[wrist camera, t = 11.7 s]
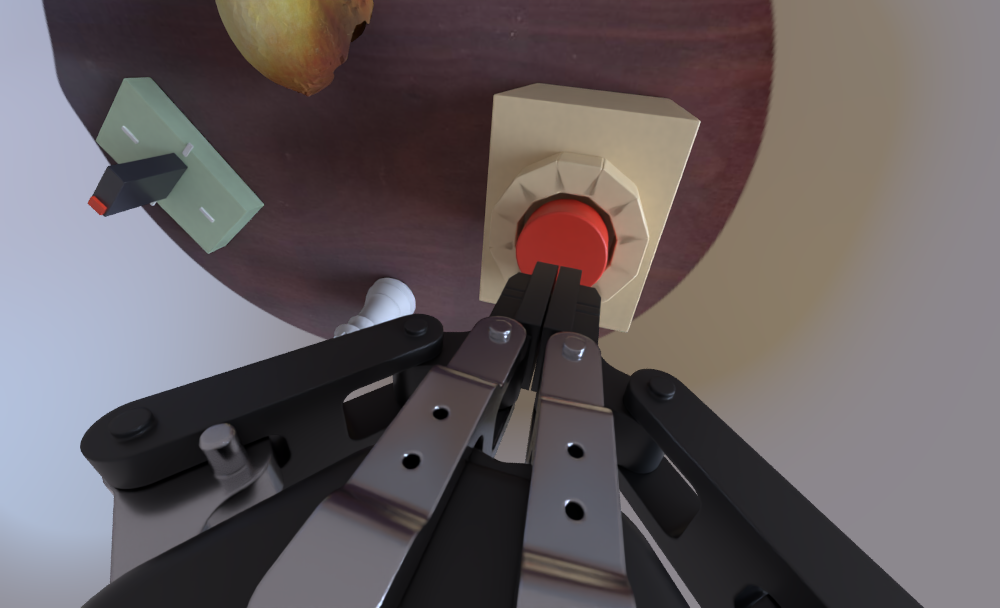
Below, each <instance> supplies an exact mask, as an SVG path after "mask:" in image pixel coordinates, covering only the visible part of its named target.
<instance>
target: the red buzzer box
mask: <svg viewBox="0 0 1000 608" xmlns="http://www.w3.org/2000/svg"><path fill="white" fill-rule="evenodd" d="M699 125H700V120H699V119H697V118H696V117H694V116H693V115H691V114H690V113H689V112H687V111H686V110H684V109H683V108H682V107H680V106H679V105H677V104H676V103H675V102H673V101H672V100H670V99H667V98H659V97H650V96H642V95H634V94H625V93H617V92H609V91H600V90H592V89H584V88H575V87H567V86H559V85H550V84H542V83H536V84H532V85H528V86H524V87H521V88H517V89H513V90H509V91H505V92H502V93H498V94H494V97H493V111H492V125H491V139H490V154H489V168H488V182H487V196H486V211H485V225H484V239H483V253H482V268H481V282H480V296H479V300H480V301H485V302H489V303H494V304H496V303H497V301H498V299H499V297H500V295H501V293H502V291H503V289H504V287H505V285H506V283H507V281H508V279H509V278H510V277H512V276H513V275H515V274H516V273H518V272H521V271H520V269H519V267H518V264H517V260H516V244H517V240H518V237H519V235H520V233H521V231H522V230H523V228H524V226H525V224H526V223H527V221H528V219H529V218H530V216H531V215H532V213H533V212H534V211H535V210H536V209H538V208H539V207H540V206H542V205H543V204H545V203H548V202H550V201H553V200H558V199H573V200H578V201H581V202H583V203H585V204H587V205H589V206H591V207H592V208H593V209H595V210H596V211H597V212H598V213H599V215H600V216H601V217H602V219H603V220H604V222H605V224H606V227H607V231H608V237H609V240H608V259H607V264H606V267H605V270H604V272H603V274H602V276H601V277H600V278H599V280H598V281H597V282H596V283H595V284H594V285H592V286H591V287H593V288H596V290H597V291H598V293H599V295H600V296H601V308H600V322H599V327H603V328H608V329H612V330H617V331H621V332H626V333H627V332H628V329H629V327H630V324H631V321H632V318H633V315H634V312H635V309H636V306H637V303H638V301H639V298H640V295H641V292H642V289H643V286H644V283H645V280H646V278H647V275H648V272H649V269H650V266H651V263H652V260H653V257H654V255H655V252H656V249H657V246H658V243H659V240H660V237H661V234H662V231H663V229H664V226H665V223H666V220H667V217H668V214H669V211H670V208H671V206H672V203H673V200H674V197H675V194H676V191H677V188H678V185H679V183H680V180H681V177H682V174H683V171H684V168H685V165H686V162H687V159H688V157H689V154H690V151H691V148H692V145H693V142H694V139H695V136H696V134H697V131H698V128H699Z"/></svg>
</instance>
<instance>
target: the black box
mask: <svg viewBox="0 0 1000 608" xmlns="http://www.w3.org/2000/svg"><path fill="white" fill-rule="evenodd" d="M187 168H188V167H187V166H186V165H185V164H184V162H183V161H182V160H181V159H180V158H179V157H178V156H177V155H176V154H175V153H170V154H165V155H160V156H155V157H150V158H146V159H141V160H136V161H131V162H126V163H121V164H116V165H111V166H108V167H107V169H106V171H105V173H104V174H103V176H102V178H101V180H100V182H99V184H98V186H97V188H96V190H95V192H94V194H93V195H92V197H91V198H90V200H89V202H88V204H89V205H90V206H91V207H92V208H93V209H94V210H95V211H96V212H97V213H98V214H99V215H103V216H105V217H106V216H109V215H113V214H116V213H119V212H122V211H126V210H129V209H132V208H136V207H139V206H142V205H146V204H149V203H152V202H156V201H159V200H162V199H166V198H167V196H168V195H169V193H170V192H171V191H172V189H173V188H174V186H175V185H176V184H177V182H178V181H179V179H180V178H181V176H182V175H183V174H184V172H185V171H186V169H187Z"/></svg>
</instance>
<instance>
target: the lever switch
mask: <svg viewBox="0 0 1000 608" xmlns="http://www.w3.org/2000/svg"><path fill="white" fill-rule="evenodd" d="M96 142H97V143H98V144H99V145H100V146H101V147H102V148H103V149H104V150H105V151H106V152H107V153H108V154H109V155H110V156H111V157H112V158H113V159H114V160H115V161H116V162H117V163H118V164H121V163H126V162H131V161H136V160H141V159H146V158H150V157H155V156H160V155H165V154H170V153H175V154H176V155H177V156H178V157H179V158H180V159H181V160H182V161H183V162H184V164H185V165H186V166H187V167H188V168H187V169H186V171H185V172H184V174H183V175H182V176H181V178H180V179H179V181H178V182H177V184H176V185H175V186H174V188H173V189H172V191H171V192H170V193H169V195H168V196H167V198H166V199H162V200H159V201H156V202H157V203H158V204H159V205H160V206H161V207H162V208H163V209H164V210H165V211H166V212H167V213H168V214H169V215H170V216H171V217H172V218H173V219H174V220H175V221H176V222H177V223H178V224H179V225H180V226H181V227H182V228H183V229H184V230H185V231H186V232H187V233H188V234H189V235H190V236H191V237H192V238H193V239H194V240H195V241H196V242H197V243H198V244H199V245H200V246H201V247H202V248H203V249H204V250H205V251H206V252H207V253H208V254H209V253H211V252H213V251H215V250H217V249H220V248H222V247H224V246H226V245H227V244H228V243H229V241H230V240H231V239H232V238H233V237H234V236H235V235H236V234H237V233H238V232H239V231H240V230H241V229H242V228H243V227H244V226H245V225H246V224H247V223H248V222H249V220H250V219H251V218H252V217H253V216H254V215H255V214H256V213H257V212H258V211H259V210H260V209H261V208H262V207H263V206H264V204H263V202H262V201H261V200H260V199H259V198H258V197H257V196H256V195H255V194H254V192H253V191H252V190H251V189H250V188H249V187H248V186H247V185H246V184H245V182H244V181H243V180H242V179H241V178H240V177H239V176H238V175H237V173H236V172H235V171H234V170H233V169H232V168H231V167H230V166H229V165H228V163H227V162H226V161H225V160H224V159H223V158H222V157H221V156H220V154H219V153H218V152H217V151H216V150H215V149H214V148H213V147H212V146H211V144H210V143H209V142H208V141H207V140H206V139H205V138H204V137H203V136H202V134H201V133H200V132H199V131H198V130H197V129H196V128H195V127H194V125H193V124H192V123H191V122H190V121H189V120H188V119H187V118H186V117H185V115H184V114H183V113H182V112H181V111H180V110H179V109H178V108H177V106H176V105H175V104H174V103H173V102H172V101H171V100H170V99H169V98H168V96H167V95H166V94H165V93H164V92H163V91H162V90H161V89H160V88H159V86H158V85H157V84H156V83H155V82H154V81H153V80H152V79H151V78H150V77H144V78H124V80H123V82H122V84H121V86H120V88H119V91H118V93H117V95H116V97H115V99H114V102H113V104H112V106H111V108H110V110H109V112H108V115H107V117H106V119H105V121H104V123H103V126H102V128H101V130H100V132H99V134H98V137H97V139H96ZM156 202H152V203H150V204H151V205H152V206H154V205H155V203H156Z"/></svg>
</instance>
